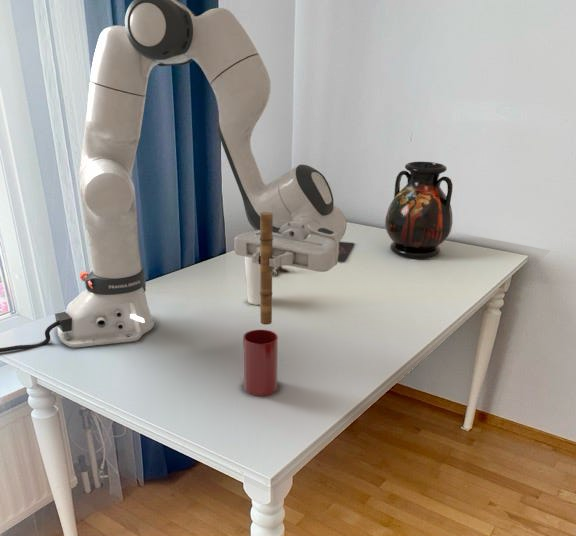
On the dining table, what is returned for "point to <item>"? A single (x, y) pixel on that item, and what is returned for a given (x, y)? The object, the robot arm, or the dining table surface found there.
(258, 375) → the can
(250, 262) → the drinking glass
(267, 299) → the tan rod with ring
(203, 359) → the dining table surface
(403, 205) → the amphora vase
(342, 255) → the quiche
